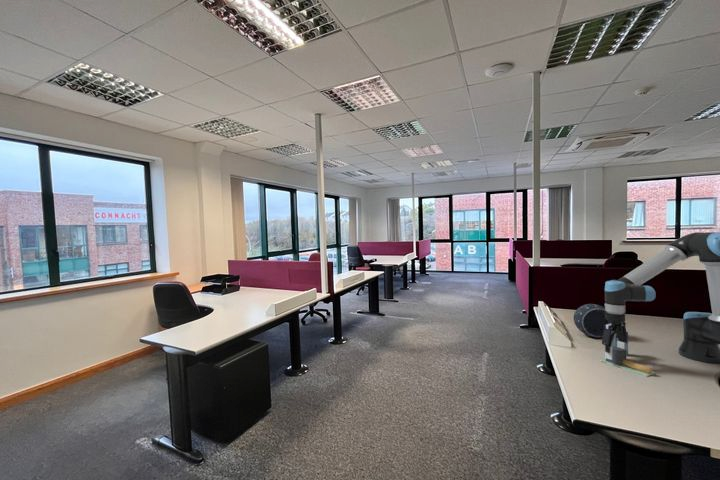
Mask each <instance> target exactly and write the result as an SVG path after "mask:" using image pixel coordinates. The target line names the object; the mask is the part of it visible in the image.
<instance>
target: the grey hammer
mask: <svg viewBox="0 0 720 480" xmlns="http://www.w3.org/2000/svg"><path fill="white" fill-rule="evenodd" d="M606 361H608V362H611V363H614V364H616V365H619V366H622V365H625V366H628V367H631V368H634V369H637V370H640V371H642V372H645V373H648V374H651V373H652V372H653V369H652V367H649V366H646V365H643V364H640V363H637V362H635V361H630V360H628V359H627V356H626V350H625V349H622V348H619V347H618V346H617V347H615V346H612V360H610V359H607V358H606Z"/></svg>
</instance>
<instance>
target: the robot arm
mask: <svg viewBox="0 0 720 480" xmlns="http://www.w3.org/2000/svg"><path fill="white" fill-rule="evenodd" d="M692 257H698V260H699V263H700V264H703V265H704V267H705V273H706V274H705V275H706V281H707V286H708V293H709V300H710V307H711V312H712V313H711V312H701V311H700V312H699V311H686V312H685V313H684V314H683V318H682V319H683V322H682V323H683V339H682V342H681V343H680V345H679V347H678V354H679V355H680V356H683V357H685V358H688V359H690V360H694V361H699V362H703V363H709V364H720V231H717V232H715V231H712V232H691V233H688V234H686V235H683V236H681V237H679V238H677V239H674V241H672V242H670V243H669V244H667V245H665V247H664V250H662V251H660V252H659V253H657V254H655V255H653V257H651V258H649V259H648V260H647V261H645V262H643V263H641V265H639V266H637V267H635V268H634V269H633V270H631V271H630V272H628V273H626V274H624V276H622V277H621V278H619V279H611V280H606V281H605V283H604V284H605V285H604V308H605V311H606V312H605V319H606V320H608V321H609V322H608V325H606V324H604V333H603V337H602V340H601V345H603V346H604V359H605V358H607V359H610V360H612V346H611V345H612V341H613V338H614V335H615V334H617V337H618V338H617V347H619V348H622V349H625V343H627V342H628V343H629V337H628V338H627V332H628V331H627V327H626V302H652V301H654V300H655V299H656V297H657V296H656V293H657V292H656V291H655V289H654V288H653V287H652V286H650V285H643V284H644V283H646V282H648V281H649V280H651V279H653V278H655V276H658V275H659V274H661V273H662V272H664V271H665V270H667V269H669V268H670V267H671V266H673V265H674V264H676V263H678V262H680V261H686V260H687V259H689V258H692ZM618 340H619V341H618ZM626 340H628V341H626Z"/></svg>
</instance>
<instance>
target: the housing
mask: <svg viewBox="0 0 720 480" xmlns="http://www.w3.org/2000/svg"><path fill="white" fill-rule="evenodd" d="M626 332H627V338H628V340H626V341H628V342H627V343H625V350H626V357H628V356H629V332H628V331H626ZM618 341H619V340H618V337H617V334H615V335H614V338H613V341H612V345H611V346H615V347H618Z"/></svg>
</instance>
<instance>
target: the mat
mask: <svg viewBox="0 0 720 480" xmlns="http://www.w3.org/2000/svg"><path fill="white" fill-rule="evenodd" d="M599 360H600V362H602V361H603V362H602V363H605V362H606V364H608V365H610V366H613V365H614V367H616V366H617V368H619V367H620V369H622V368H623V370H625V371H629V372H630V373H631V372H632V373H634V374H637V375H641V376H643V377H646V378H647V377H650V376H652V375H655V374H656V373H655V371H652V373H651V374H648V373H645V372H642V371H640V370H637V369H634V368H631V367H628V366H625V365H622V366H619V365H616V364H614V363H611V362H608V361H606V358H605V357H604V358H602V359H599Z"/></svg>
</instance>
